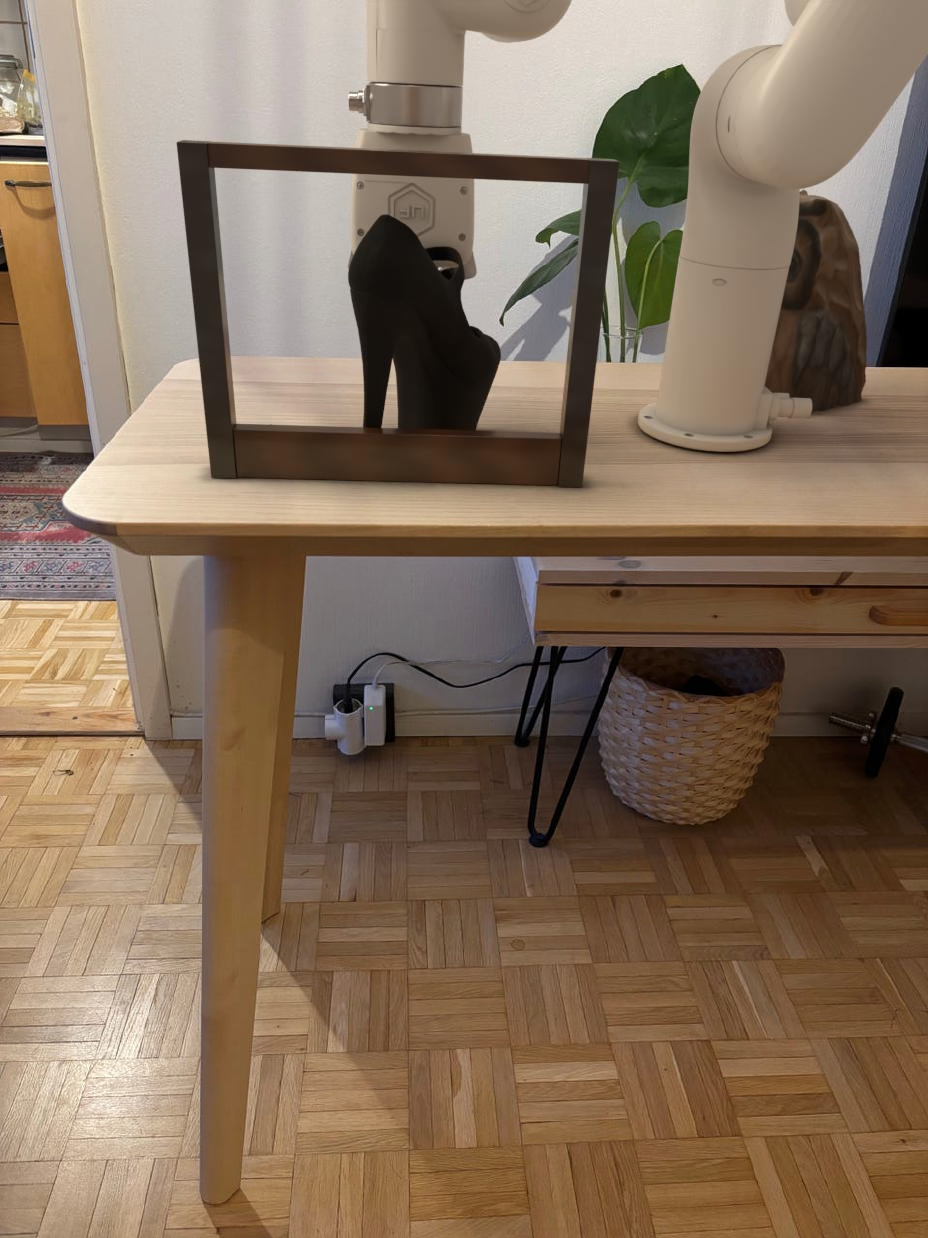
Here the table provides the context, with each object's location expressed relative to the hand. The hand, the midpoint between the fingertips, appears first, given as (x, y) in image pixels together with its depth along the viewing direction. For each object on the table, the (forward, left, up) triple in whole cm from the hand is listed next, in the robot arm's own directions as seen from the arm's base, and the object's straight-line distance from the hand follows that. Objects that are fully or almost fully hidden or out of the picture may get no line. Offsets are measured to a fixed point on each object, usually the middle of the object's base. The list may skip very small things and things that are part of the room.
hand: (411, 344), depth 82 cm
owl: (-42, -14, -8) cm, 45 cm away
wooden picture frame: (+1, +12, -8) cm, 15 cm away
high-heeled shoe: (-1, +5, -8) cm, 9 cm away
